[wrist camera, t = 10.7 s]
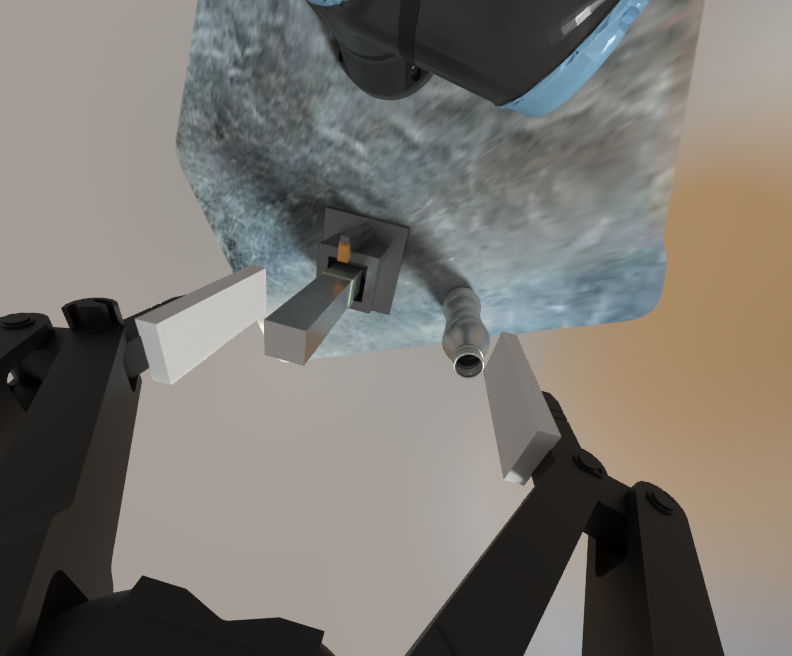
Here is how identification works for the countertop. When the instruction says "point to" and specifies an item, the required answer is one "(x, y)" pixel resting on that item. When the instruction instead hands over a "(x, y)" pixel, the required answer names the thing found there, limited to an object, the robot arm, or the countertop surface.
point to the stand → (365, 255)
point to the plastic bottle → (465, 332)
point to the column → (311, 314)
